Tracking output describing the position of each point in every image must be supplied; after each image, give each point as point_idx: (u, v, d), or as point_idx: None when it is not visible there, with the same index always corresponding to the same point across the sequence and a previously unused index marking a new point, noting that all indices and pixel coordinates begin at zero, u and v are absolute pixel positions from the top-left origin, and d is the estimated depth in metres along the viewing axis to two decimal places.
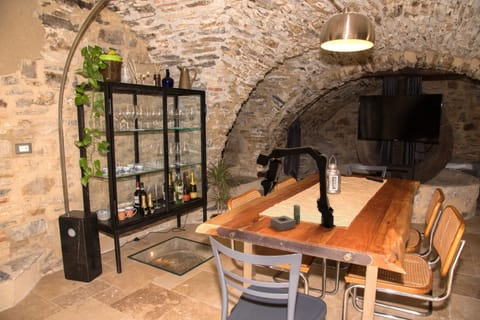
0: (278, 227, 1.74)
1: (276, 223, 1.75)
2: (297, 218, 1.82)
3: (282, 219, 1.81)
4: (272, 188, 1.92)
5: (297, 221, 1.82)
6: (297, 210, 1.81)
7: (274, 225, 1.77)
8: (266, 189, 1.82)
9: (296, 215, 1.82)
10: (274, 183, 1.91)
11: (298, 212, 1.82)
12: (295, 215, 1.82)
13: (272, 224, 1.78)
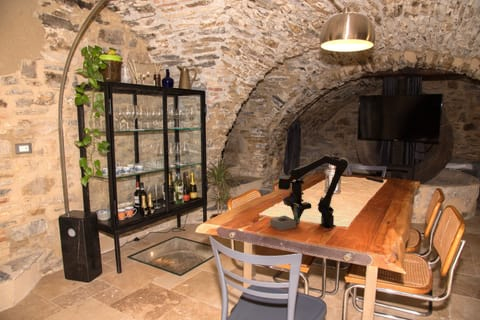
0: (278, 227, 1.74)
1: (276, 223, 1.75)
2: (297, 218, 1.82)
3: (282, 219, 1.81)
4: None
5: (297, 221, 1.82)
6: None
7: (274, 225, 1.77)
8: (300, 210, 1.80)
9: (296, 215, 1.82)
10: None
11: None
12: (295, 215, 1.82)
13: (272, 224, 1.78)
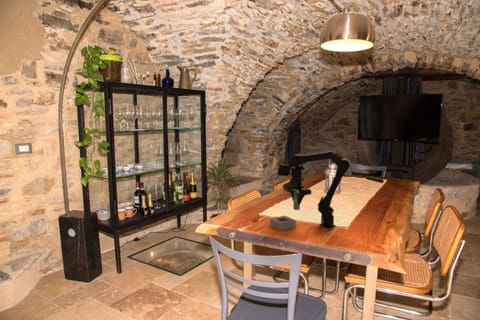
0: (278, 227, 1.74)
1: (276, 223, 1.75)
2: (297, 204, 1.81)
3: (282, 219, 1.81)
4: None
5: (297, 207, 1.81)
6: None
7: (274, 225, 1.77)
8: (300, 197, 1.79)
9: (296, 202, 1.81)
10: None
11: None
12: (295, 201, 1.81)
13: (272, 224, 1.78)
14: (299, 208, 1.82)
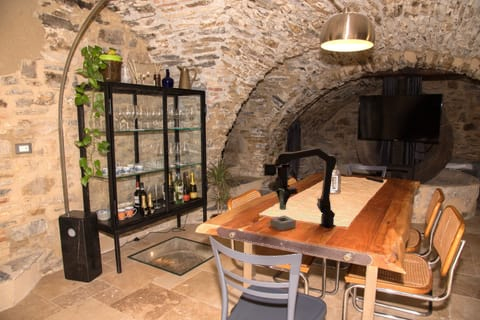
0: (278, 227, 1.74)
1: (276, 223, 1.75)
2: (283, 204, 1.75)
3: (282, 219, 1.81)
4: None
5: (283, 207, 1.75)
6: None
7: (274, 225, 1.77)
8: (286, 196, 1.73)
9: (282, 201, 1.75)
10: None
11: None
12: (281, 201, 1.75)
13: (272, 224, 1.78)
14: (285, 208, 1.76)
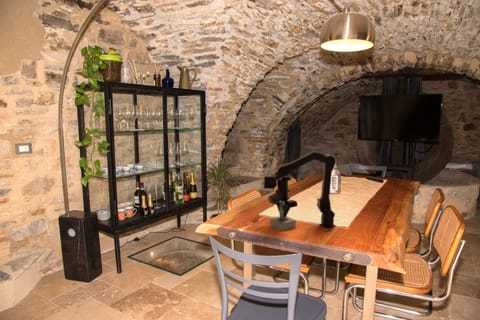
0: (278, 227, 1.74)
1: (276, 223, 1.75)
2: (283, 216, 1.76)
3: None
4: None
5: (283, 220, 1.76)
6: None
7: (274, 225, 1.77)
8: (286, 209, 1.74)
9: (282, 214, 1.76)
10: None
11: None
12: (281, 213, 1.76)
13: (272, 224, 1.78)
14: (285, 220, 1.77)
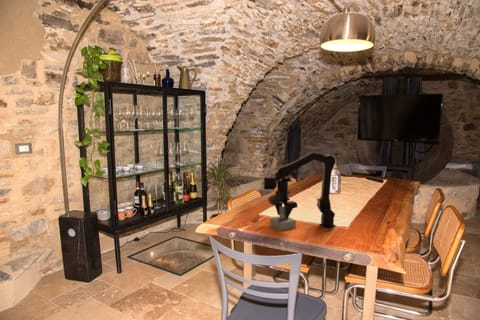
0: (278, 227, 1.74)
1: (276, 223, 1.75)
2: (283, 220, 1.76)
3: None
4: None
5: None
6: (282, 212, 1.75)
7: (274, 225, 1.77)
8: (288, 211, 1.73)
9: (282, 217, 1.76)
10: (280, 203, 1.81)
11: (284, 214, 1.76)
12: (281, 217, 1.76)
13: (272, 224, 1.78)
14: None
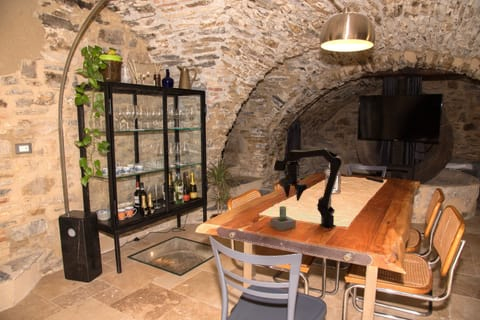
0: (278, 227, 1.74)
1: (276, 223, 1.75)
2: (283, 220, 1.76)
3: None
4: None
5: None
6: (283, 212, 1.75)
7: (274, 225, 1.77)
8: (299, 193, 1.80)
9: (282, 217, 1.76)
10: (289, 186, 1.90)
11: (284, 214, 1.76)
12: (281, 217, 1.76)
13: (272, 224, 1.78)
14: None
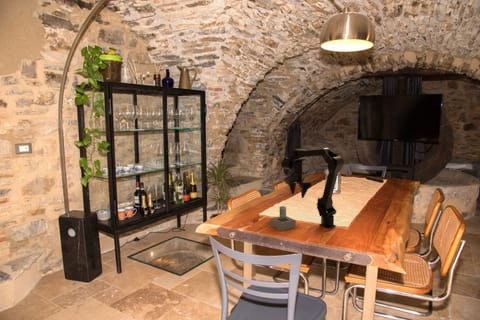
0: (278, 227, 1.74)
1: (276, 223, 1.75)
2: (283, 220, 1.76)
3: None
4: (294, 189, 1.95)
5: None
6: (283, 212, 1.75)
7: (274, 225, 1.77)
8: (304, 190, 1.85)
9: (282, 217, 1.76)
10: (294, 184, 1.95)
11: (284, 214, 1.76)
12: (281, 217, 1.76)
13: (272, 224, 1.78)
14: None
